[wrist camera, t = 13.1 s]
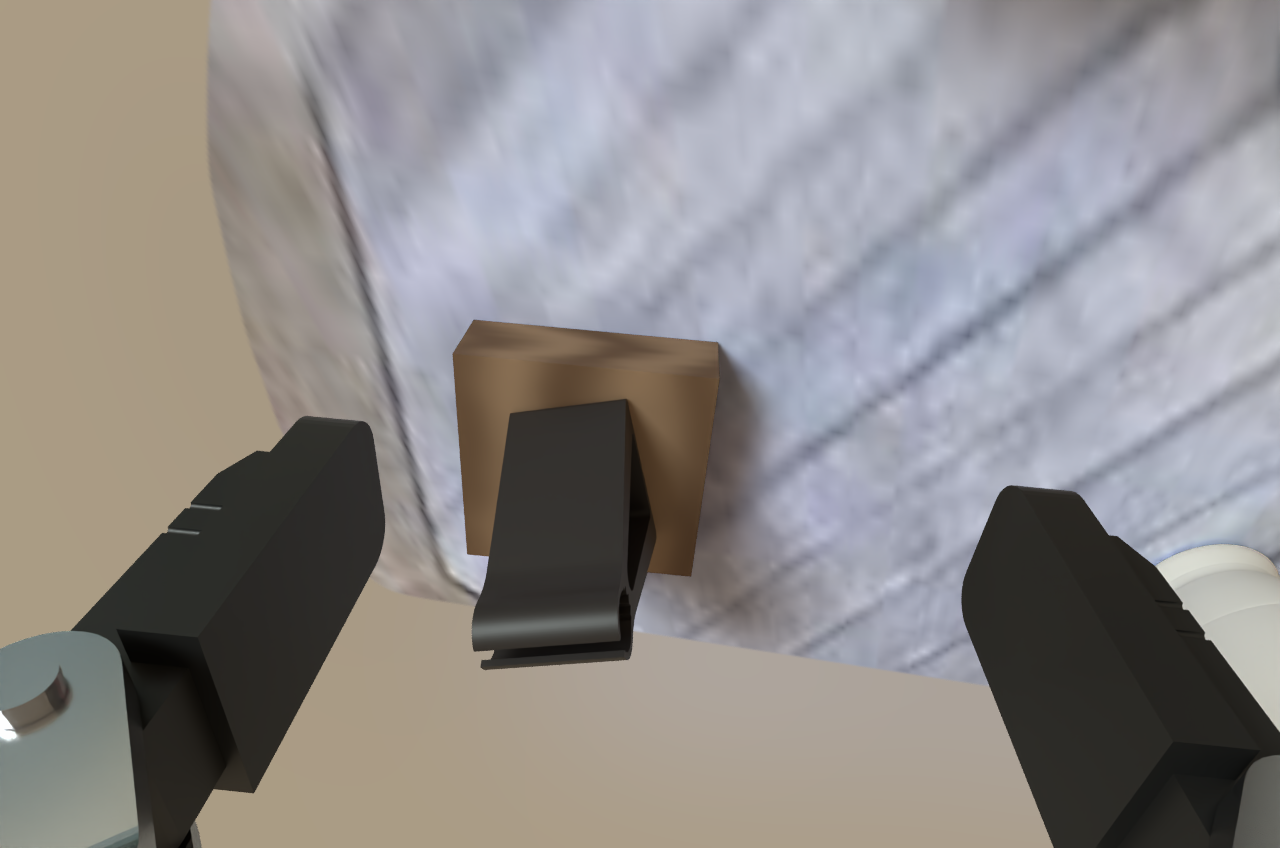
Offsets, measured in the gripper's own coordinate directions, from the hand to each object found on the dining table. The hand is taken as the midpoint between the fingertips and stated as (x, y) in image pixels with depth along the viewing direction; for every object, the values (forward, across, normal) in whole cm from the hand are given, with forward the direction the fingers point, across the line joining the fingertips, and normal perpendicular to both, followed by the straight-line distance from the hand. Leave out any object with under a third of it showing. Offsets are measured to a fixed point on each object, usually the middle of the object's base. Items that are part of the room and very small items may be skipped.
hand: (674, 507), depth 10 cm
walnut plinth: (+28, +4, +18) cm, 33 cm away
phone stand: (+24, +4, +18) cm, 30 cm away
